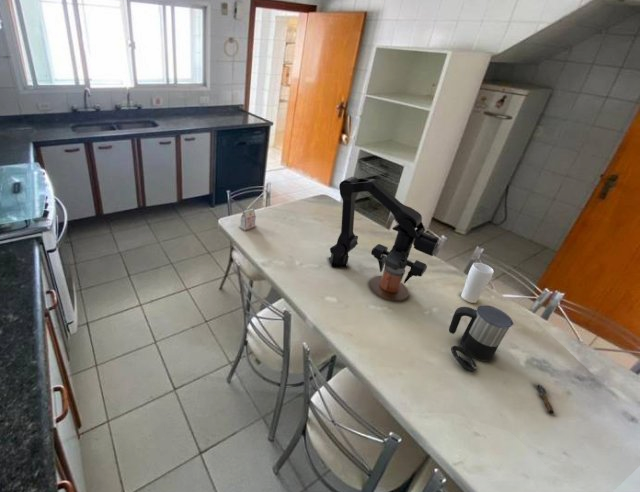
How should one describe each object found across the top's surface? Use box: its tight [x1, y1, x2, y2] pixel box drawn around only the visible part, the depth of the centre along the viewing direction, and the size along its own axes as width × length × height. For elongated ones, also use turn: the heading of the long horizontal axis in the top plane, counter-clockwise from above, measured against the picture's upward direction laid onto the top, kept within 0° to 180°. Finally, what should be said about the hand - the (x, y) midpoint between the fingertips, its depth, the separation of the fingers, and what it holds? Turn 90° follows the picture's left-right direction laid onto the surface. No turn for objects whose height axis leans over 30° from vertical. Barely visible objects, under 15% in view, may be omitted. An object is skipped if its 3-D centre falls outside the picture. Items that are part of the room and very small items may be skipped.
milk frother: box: [448, 304, 514, 372], centre depth 100 cm, size 14×16×15 cm
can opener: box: [536, 384, 555, 414], centre depth 91 cm, size 9×2×1 cm, turn 152°
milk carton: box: [239, 207, 257, 231], centre depth 166 cm, size 4×7×10 cm, turn 129°
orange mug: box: [380, 265, 406, 293], centre depth 127 cm, size 9×7×9 cm
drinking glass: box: [460, 262, 495, 304], centre depth 124 cm, size 7×7×15 cm
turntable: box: [369, 275, 409, 303], centre depth 130 cm, size 14×14×1 cm
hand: (392, 277), depth 127 cm, fingers open, 9 cm apart
